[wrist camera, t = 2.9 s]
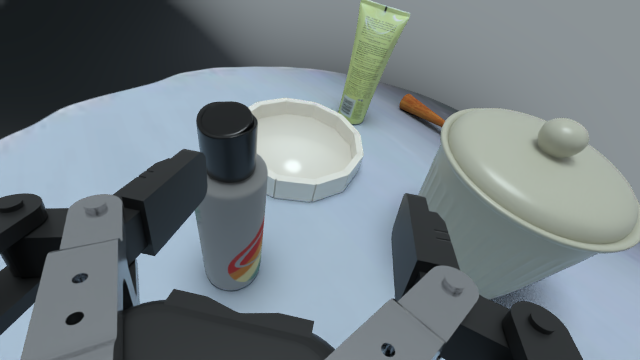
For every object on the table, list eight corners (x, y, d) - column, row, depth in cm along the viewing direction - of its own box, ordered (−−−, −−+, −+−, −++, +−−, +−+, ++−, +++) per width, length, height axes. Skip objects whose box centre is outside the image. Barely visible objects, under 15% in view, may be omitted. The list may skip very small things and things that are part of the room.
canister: (359, 214, 42) (425, 70, 27) (457, 192, 49) (552, 67, 34) (440, 353, 31) (623, 241, 16) (550, 299, 38) (749, 185, 23)
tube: (357, 108, 61) (392, -1, 47) (370, 123, 58) (411, 12, 44) (332, 111, 58) (361, -3, 44) (345, 127, 55) (379, 11, 42)
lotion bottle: (270, 268, 34) (291, 121, 20) (226, 303, 31) (214, 156, 17) (238, 235, 36) (237, 81, 22) (194, 264, 33) (159, 104, 19)
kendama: (419, 87, 63) (510, 137, 53) (406, 113, 67) (490, 165, 56) (403, 87, 60) (499, 141, 49) (390, 115, 63) (478, 171, 53)
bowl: (350, 124, 56) (355, 108, 54) (362, 207, 43) (369, 191, 40) (243, 108, 54) (243, 91, 51) (218, 192, 40) (217, 173, 38)
